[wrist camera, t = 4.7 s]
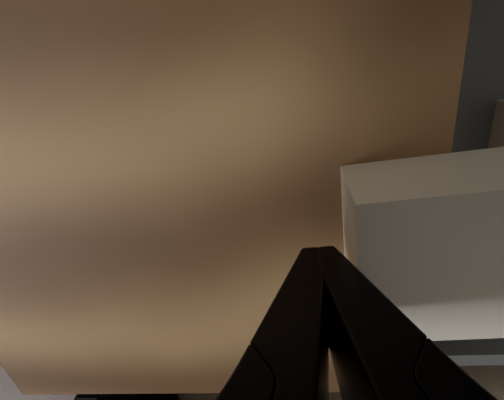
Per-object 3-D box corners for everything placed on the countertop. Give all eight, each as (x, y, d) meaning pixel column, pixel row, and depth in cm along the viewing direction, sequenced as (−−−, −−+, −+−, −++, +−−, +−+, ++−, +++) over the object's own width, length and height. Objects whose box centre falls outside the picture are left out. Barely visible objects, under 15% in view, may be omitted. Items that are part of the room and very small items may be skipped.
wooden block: (387, 308, 16) (417, 391, 12) (74, 320, 18) (22, 394, 14) (410, -63, 9) (488, -113, 6) (-83, 27, 11) (-246, 31, 8)
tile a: (489, 278, 10) (536, 336, 8) (345, 288, 10) (358, 343, 8) (517, 144, 8) (586, 181, 6) (340, 165, 8) (355, 204, 7)
